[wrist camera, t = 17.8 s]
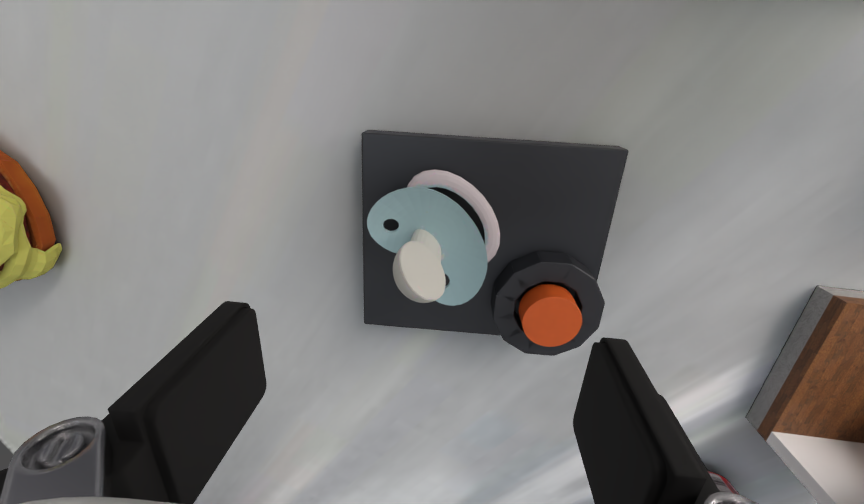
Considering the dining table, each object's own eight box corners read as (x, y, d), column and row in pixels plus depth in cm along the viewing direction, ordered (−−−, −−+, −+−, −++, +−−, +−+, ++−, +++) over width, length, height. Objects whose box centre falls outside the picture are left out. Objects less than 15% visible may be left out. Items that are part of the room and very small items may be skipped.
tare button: (579, 285, 22) (587, 299, 21) (569, 333, 24) (576, 349, 22) (522, 281, 23) (526, 294, 21) (515, 329, 24) (518, 344, 22)
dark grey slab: (620, 145, 22) (643, 155, 19) (577, 330, 27) (590, 359, 24) (366, 129, 23) (353, 136, 20) (368, 313, 27) (358, 339, 24)
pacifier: (440, 141, 21) (360, 212, 23) (436, 160, 15) (329, 252, 17) (522, 241, 23) (443, 299, 25) (546, 290, 17) (440, 363, 19)
